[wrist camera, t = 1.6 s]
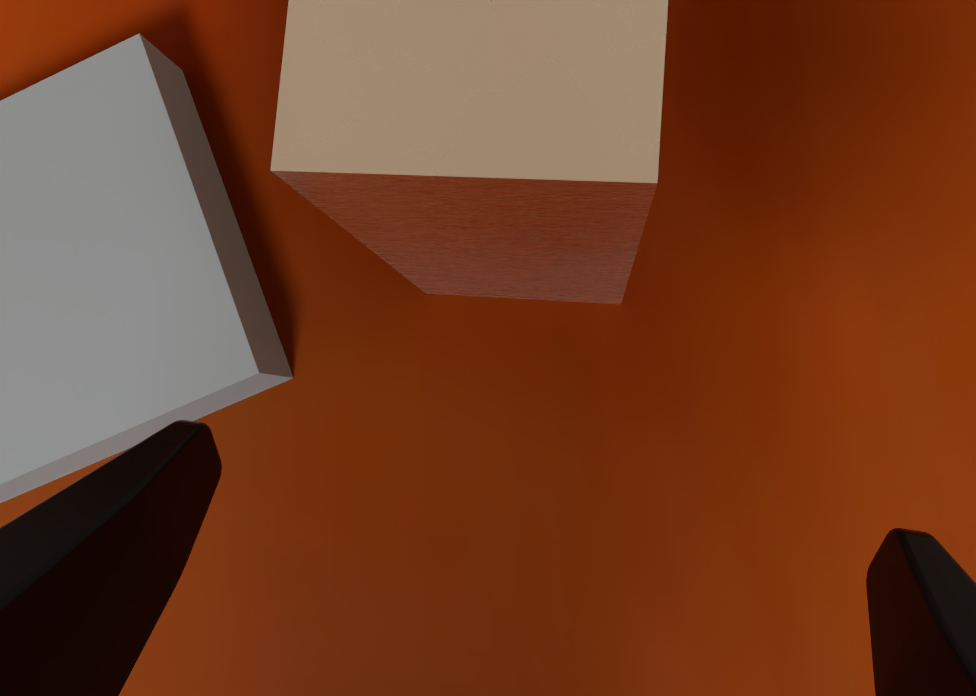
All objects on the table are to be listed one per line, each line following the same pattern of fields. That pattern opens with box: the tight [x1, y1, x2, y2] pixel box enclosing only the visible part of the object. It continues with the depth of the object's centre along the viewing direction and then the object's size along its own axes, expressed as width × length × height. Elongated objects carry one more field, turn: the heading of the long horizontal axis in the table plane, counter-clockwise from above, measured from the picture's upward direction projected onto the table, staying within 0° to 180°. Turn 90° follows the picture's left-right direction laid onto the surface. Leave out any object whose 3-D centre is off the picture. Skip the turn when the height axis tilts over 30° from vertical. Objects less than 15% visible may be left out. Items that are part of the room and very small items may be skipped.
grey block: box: [0, 33, 293, 503], centre depth 25 cm, size 12×12×3 cm
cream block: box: [270, 0, 668, 304], centre depth 18 cm, size 6×6×12 cm
